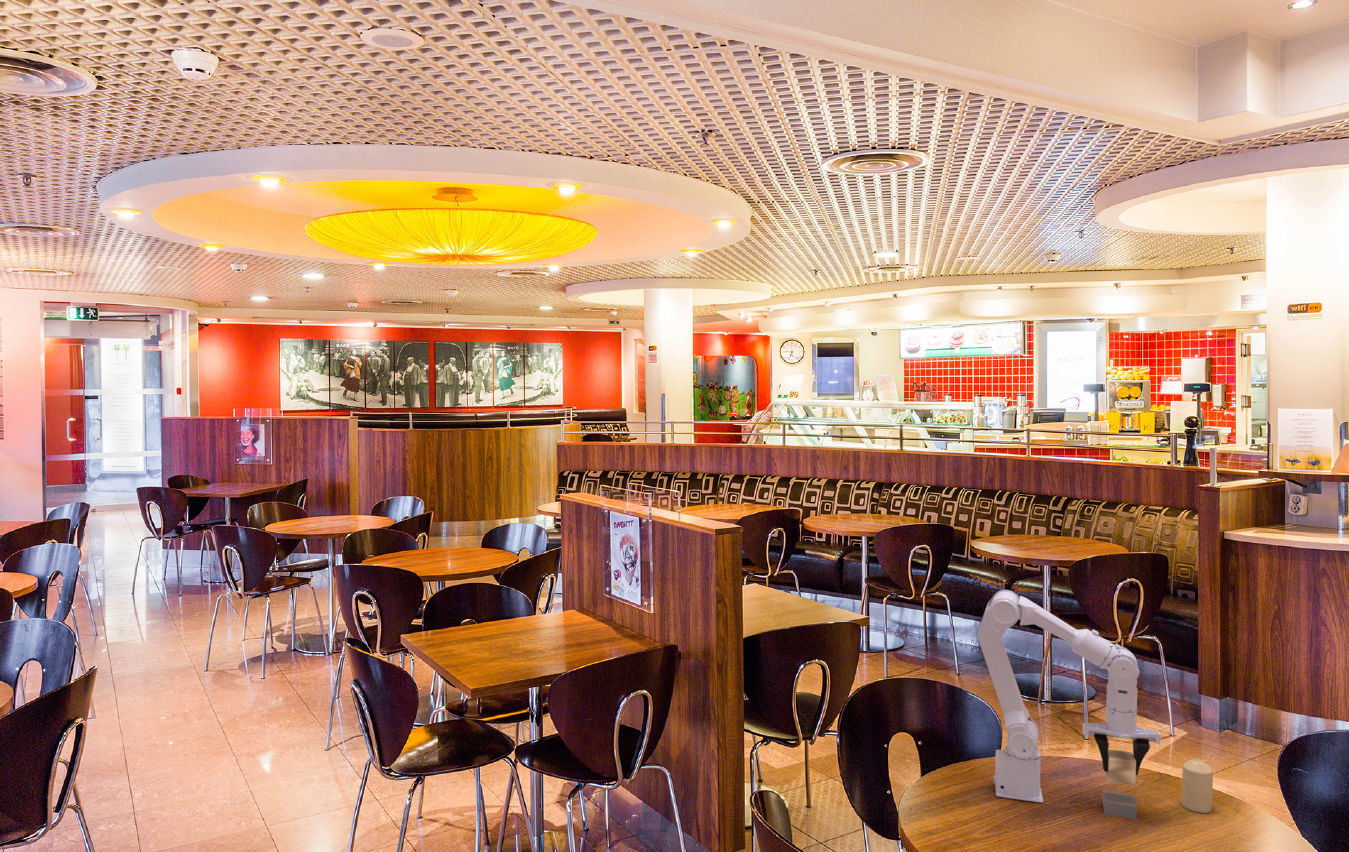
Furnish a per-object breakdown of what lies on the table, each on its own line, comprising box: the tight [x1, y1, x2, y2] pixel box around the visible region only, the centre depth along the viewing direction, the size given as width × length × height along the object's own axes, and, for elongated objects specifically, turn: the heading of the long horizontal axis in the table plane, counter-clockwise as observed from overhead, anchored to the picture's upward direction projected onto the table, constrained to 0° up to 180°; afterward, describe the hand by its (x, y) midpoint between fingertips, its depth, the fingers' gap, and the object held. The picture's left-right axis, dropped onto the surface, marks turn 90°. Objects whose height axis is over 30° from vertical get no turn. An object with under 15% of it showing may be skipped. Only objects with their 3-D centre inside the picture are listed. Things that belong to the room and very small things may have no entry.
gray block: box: [1102, 789, 1138, 821], centre depth 184 cm, size 6×6×3 cm
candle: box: [1181, 758, 1214, 814], centre depth 185 cm, size 6×6×10 cm
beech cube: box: [1104, 748, 1137, 786], centre depth 183 cm, size 5×5×5 cm
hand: (1120, 771), depth 183 cm, fingers closed on beech cube, 5 cm apart
